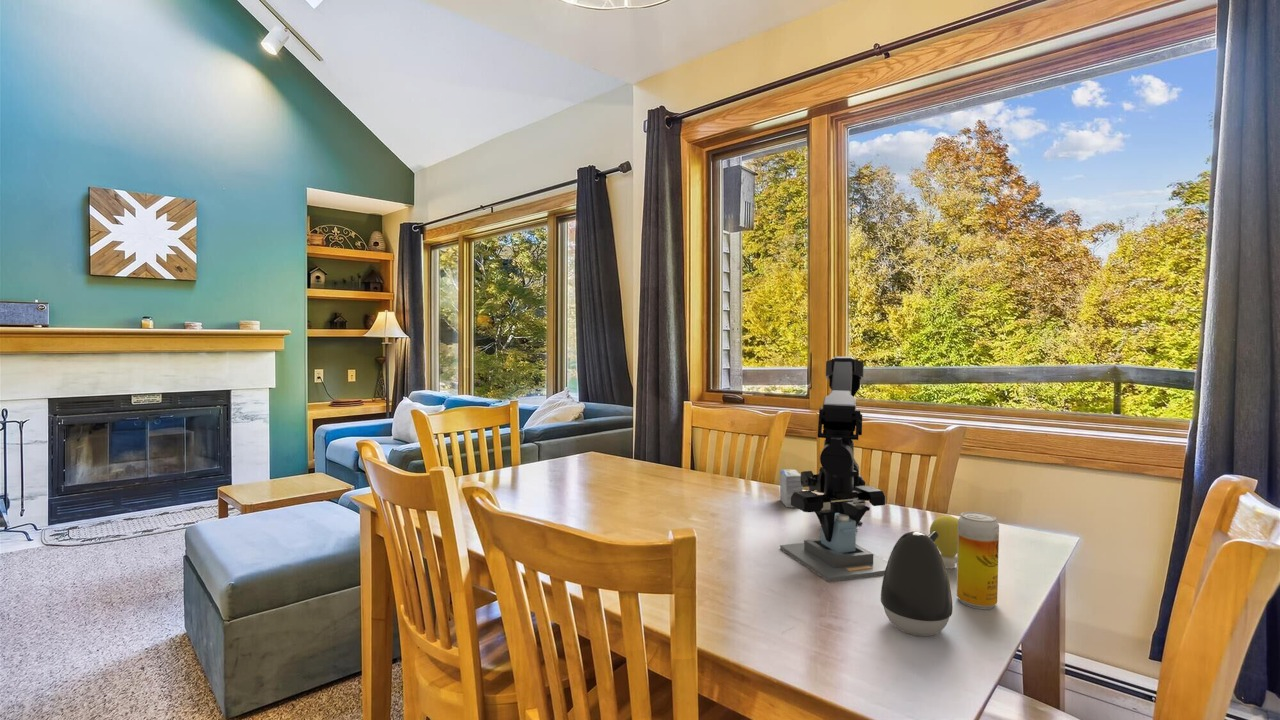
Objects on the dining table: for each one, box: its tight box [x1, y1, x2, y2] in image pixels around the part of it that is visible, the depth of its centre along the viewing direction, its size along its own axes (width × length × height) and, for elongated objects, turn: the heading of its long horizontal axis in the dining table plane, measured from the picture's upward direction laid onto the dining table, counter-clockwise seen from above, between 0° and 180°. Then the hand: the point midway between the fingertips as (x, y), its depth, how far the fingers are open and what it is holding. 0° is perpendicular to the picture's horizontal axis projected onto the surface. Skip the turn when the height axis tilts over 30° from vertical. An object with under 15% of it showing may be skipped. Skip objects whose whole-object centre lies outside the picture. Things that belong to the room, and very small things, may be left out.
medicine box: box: [779, 469, 803, 508], centre depth 163 cm, size 8×4×9 cm, turn 179°
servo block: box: [820, 513, 858, 553], centre depth 122 cm, size 4×8×7 cm, turn 16°
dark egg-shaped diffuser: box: [880, 530, 954, 637], centre depth 94 cm, size 10×10×15 cm
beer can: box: [956, 511, 1000, 610], centre depth 102 cm, size 6×6×15 cm
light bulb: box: [929, 515, 959, 569], centre depth 119 cm, size 7×7×10 cm
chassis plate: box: [779, 537, 888, 583], centre depth 122 cm, size 16×18×3 cm
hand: (837, 540), depth 122 cm, fingers closed on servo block, 4 cm apart
